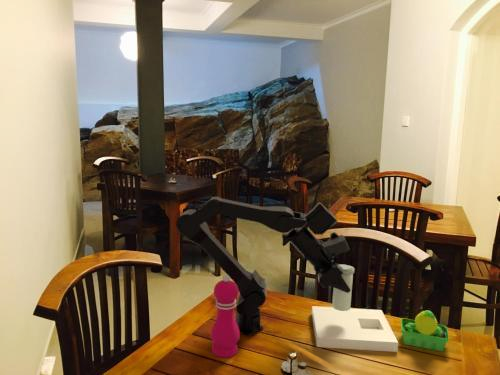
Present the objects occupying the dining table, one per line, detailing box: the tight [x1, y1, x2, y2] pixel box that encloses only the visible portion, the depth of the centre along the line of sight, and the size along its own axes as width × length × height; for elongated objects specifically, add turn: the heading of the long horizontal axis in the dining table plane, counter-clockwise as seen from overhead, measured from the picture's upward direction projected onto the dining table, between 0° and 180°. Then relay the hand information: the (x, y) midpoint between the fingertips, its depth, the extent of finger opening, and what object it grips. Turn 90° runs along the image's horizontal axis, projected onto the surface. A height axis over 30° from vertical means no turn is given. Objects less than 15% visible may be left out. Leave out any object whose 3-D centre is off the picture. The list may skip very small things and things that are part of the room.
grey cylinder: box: [331, 264, 356, 311], centre depth 115 cm, size 5×5×11 cm
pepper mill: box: [210, 274, 241, 359], centre depth 106 cm, size 7×7×20 cm
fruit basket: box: [400, 309, 450, 352], centre depth 111 cm, size 11×9×11 cm
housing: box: [311, 305, 399, 353], centre depth 117 cm, size 20×18×4 cm
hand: (347, 287), depth 115 cm, fingers closed on grey cylinder, 5 cm apart
